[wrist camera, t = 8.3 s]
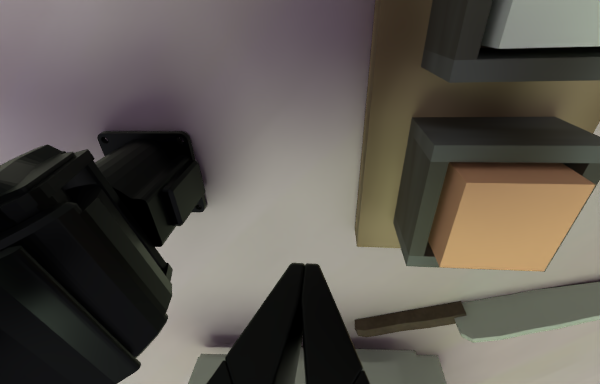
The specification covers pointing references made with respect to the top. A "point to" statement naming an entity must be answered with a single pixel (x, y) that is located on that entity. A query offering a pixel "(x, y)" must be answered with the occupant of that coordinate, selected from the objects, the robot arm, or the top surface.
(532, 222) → the terracotta button
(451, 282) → the top surface
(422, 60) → the button board
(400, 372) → the toaster
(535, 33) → the grey button
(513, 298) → the kitchen knife
